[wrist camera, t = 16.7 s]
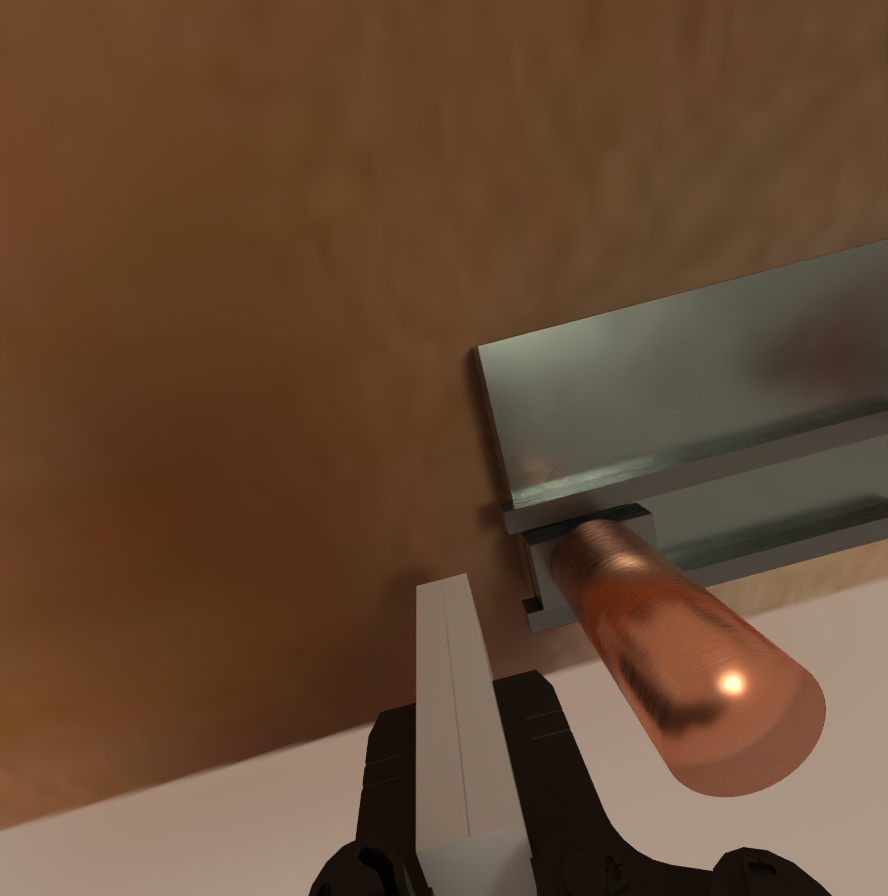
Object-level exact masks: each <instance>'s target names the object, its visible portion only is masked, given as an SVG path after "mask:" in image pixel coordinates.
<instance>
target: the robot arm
mask: <svg viewBox="0 0 888 896" xmlns="http://www.w3.org/2000/svg"><path fill="white" fill-rule="evenodd" d="M365 762H366V767H365V769H364V776H363V790H362V792H361V800H360V808H359V816H358V824H357V832H356V839H355V841H353V842H351V843H349V844H347V845H344V846H343V847H342V848H341V849H340V850H339V851H338V852H337V853H336V854H335V855H334V856H332V857H331V858H330V859H329V860H328V861H327V862H326V864H325V866H324V867H323V869H322V870H321V872H320V873H319V875H318V877H317V879H316V880H315V881H314V883H313V885H312V887H311V890H310V893H309V896H832V895H831V894H830V893H829V892H827V890H826V889H825V888H824V887H823V886H822V885H821V884H819V883H818V882H817V881H816V880H814V879H813V878H812V877H811V876H809V875H808V874H807V873H806V872H804V871H803V870H802V869H800V868H799V867H798V866H797V865H796V864H794V863H793V862H791V861H789V860H786V859H784V858H782V857H780V856H778V855H776V854H774V853H772V852H770V851H768V850H760V849H753V848H746V847H742V848H740V849H737V850H733V851H730V852H727V853H725V854H724V855H723V856H722V858H721V859H720V860H719V862H718V863H717V864H716V865H715V867H714V868H713V871H709V870H702V869H696V868H689V867H682V866H675V865H670V864H666V863H662V862H659V861H656V860H653V859H651V858H649V857H647V856H646V855H644V854H642V853H640V852H638V851H637V850H636V849H634V848H633V847H632V846H631V845H630V844H628V843H627V842H626V841H625V840H624V839H623V838H622V837H621V836H620V835H619V833H618V832H617V831H616V830H615V829H614V827H613V826H612V824H611V822H610V821H609V819H608V817H607V815H606V813H605V811H604V809H603V807H602V804H601V802H600V799H599V797H598V794H597V792H596V790H595V787H594V785H593V782H592V780H591V777H590V775H589V773H588V770H587V768H586V766H585V763H584V761H583V758H582V756H581V753H580V751H579V748H578V746H577V744H576V741H575V739H574V736H573V734H572V732H571V730H570V727H569V725H568V722H567V719H566V717H565V715H564V712H563V711H562V707H561V705H560V702H559V700H558V698H557V695H556V693H555V690H554V688H553V686H552V685H551V684H550V683H549V682H548V681H547V680H546V679H545V678H544V677H543V676H542V675H541V674H540V673H539V672H538V671H537V670H536V669H535V670H532V671H528V672H524V673H520V674H517V675H513V676H509V677H505V678H502V679H498V680H494V679H493V674H492V670H491V666H490V662H489V658H488V653H487V649H486V646H485V642H484V638H483V634H482V631H481V627H480V623H479V619H478V615H477V612H476V608H475V604H474V600H473V597H472V593H471V589H470V585H469V581H468V578H467V574H466V573H464V574H460V575H457V576H453V577H449V578H445V579H441V580H438V581H434V582H430V583H426V584H422V585H419V586H416V703H414V704H410V705H406V706H402V707H399V708H395V709H391V710H387V711H384V712H380V714H379V716H378V718H377V720H376V722H375V724H374V726H373V728H372V730H371V732H370V735H369V737H368V745H367V753H366V761H365Z"/></svg>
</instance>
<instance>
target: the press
mask: <svg viewBox="0 0 888 896" xmlns="http://www.w3.org/2000/svg"><path fill="white" fill-rule="evenodd" d="M472 352H473V356H474V361H475V365H476V369H477V374H478V378H479V382H480V387H481V391H482V395H483V399H484V404H485V408H486V412H487V417H488V421H489V425H490V430H491V434H492V438H493V442H494V447H495V451H496V455H497V460H498V464H499V468H500V473H501V477H502V481H503V485H504V490H505V494H506V498H507V502H504V503H500V504H499V507H500V511H501V516H502V520H503V524H504V527H505V528H506V530H507V532H508V534H509V535H511V534H515V537H516V541H517V546H518V550H519V554H520V559H521V563H522V567H523V571H524V576H525V580H526V584H527V587H528V589H529V592H530V594H531V596H532V598H529V599H526V600H522V604H523V608H524V612H525V616H526V620H527V623H528V625H529V627H530V630H531V632H532V634H534V633H538V632H542V631H545V630H549V629H553V628H556V627H560V626H564V625H568V624H571V623H575V622H578V620H577V619H576V617H575V615H574V614H573V612H572V610H571V609H570V607H569V606H564V607H560V608H557V609H553V610H549V611H544V609H543V607H542V606H541V604H540V602H539V600H538V598H537V596H536V593H535V588H534V584H533V580H532V575H531V571H530V566H529V562H528V558H527V553H526V549H525V544H524V540H523V536H522V533H524V532H527V531H531V530H535V529H539V528H542V527H546V526H550V525H554V524H557V523H561V522H565V521H569V520H572V519H576V518H580V517H584V516H587V515H591V514H595V513H599V512H602V511H606V510H610V509H614V508H617V507H621V506H625V505H629V504H632V503H638V504H639V505H641V506H642V507H644V508H645V509H647V510H648V511H650V512H651V513H653V518H654V524H655V531H656V538H657V545H658V552H660V553H661V554H662V555H663V556H665V557H666V558H667V559H668V560H670V561H671V562H672V563H673V564H675V565H676V566H677V567H678V568H680V569H681V570H682V571H683V572H685V573H686V574H687V575H688V576H690V577H691V578H692V579H693V580H695V581H696V582H697V583H698V584H700V585H701V586H702V587H703V588H705V587H709V586H712V585H716V584H720V583H724V582H727V581H731V580H735V579H739V578H742V577H746V576H750V575H753V574H757V573H761V572H765V571H768V570H772V569H776V568H779V567H783V566H787V565H791V564H794V563H798V562H802V561H805V560H809V559H813V558H817V557H820V556H824V555H828V554H831V553H835V552H839V551H843V550H846V549H850V548H854V547H857V546H861V545H865V544H869V543H872V542H876V541H880V540H883V539H887V538H888V239H884V240H880V241H877V242H873V243H869V244H865V245H861V246H858V247H854V248H850V249H846V250H842V251H839V252H835V253H831V254H827V255H823V256H819V257H816V258H812V259H808V260H804V261H800V262H797V263H793V264H789V265H785V266H781V267H777V268H774V269H770V270H766V271H762V272H758V273H755V274H751V275H747V276H743V277H739V278H736V279H732V280H728V281H724V282H720V283H716V284H713V285H709V286H705V287H701V288H697V289H694V290H690V291H686V292H682V293H678V294H674V295H671V296H667V297H663V298H659V299H655V300H652V301H648V302H644V303H640V304H636V305H632V306H629V307H625V308H621V309H617V310H613V311H610V312H606V313H602V314H598V315H594V316H591V317H587V318H583V319H579V320H575V321H571V322H568V323H564V324H560V325H556V326H552V327H549V328H545V329H541V330H537V331H533V332H529V333H526V334H522V335H518V336H514V337H510V338H507V339H503V340H499V341H495V342H491V343H487V344H484V345H480V346H476V347H472Z"/></svg>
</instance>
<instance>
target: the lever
mask: <svg viewBox="0 0 888 896" xmlns="http://www.w3.org/2000/svg"><path fill="white" fill-rule="evenodd" d="M522 536H523V540H524V544H525V549H526V553H527V558H528V562H529V566H530V571H531V575H532V580H533V584H534V588H535V593H536V596H537V598H538V600H539V602H540V604H541V606H542V607H543V609H544V611H549V610H553V609H557V608H560V607H564V606H569V607H570V609H571V610H572V612H573V614H574V615H575V617H576V619H577V620H578V622H579V623H580V625H581V627H582V628H583V630H584V632H585V633H586V635H587V636H588V638H589V640H590V641H591V643H592V645H593V646H594V648H595V649H596V651H597V653H598V654H599V656H600V658H601V659H602V661H603V663H604V664H605V666H606V667H607V668H608V670H609V672H610V674H611V675H612V677H613V679H614V680H615V682H616V683H617V685H618V687H619V689H620V690H621V692H622V693H623V695H624V697H625V698H626V700H627V701H628V703H629V705H630V706H631V708H632V710H633V711H634V713H635V715H636V716H637V718H638V719H639V721H640V723H641V724H642V726H643V727H644V729H645V731H646V732H647V734H648V736H649V737H650V739H651V741H652V742H653V744H654V745H655V747H656V749H657V750H658V752H659V753H660V755H661V757H662V758H663V760H664V762H665V763H666V765H667V766H668V768H669V770H670V771H671V773H672V774H673V775H674V777H675V778H676V779H677V780H678V781H679V782H681V783H682V784H683V785H684V786H686V787H688V788H690V789H691V790H693V791H696V792H698V793H701V794H704V795H709V796H715V797H735V796H742V795H746V794H751V793H754V792H757V791H760V790H763V789H765V788H767V787H770V786H772V785H774V784H775V783H777V782H779V781H781V780H782V779H784V778H785V777H787V776H788V775H789V774H791V773H792V772H793V771H794V770H795V769H797V768H798V767H799V766H800V764H802V763H803V761H805V759H806V758H807V757H808V756H809V754H810V753H811V752H812V750H813V749H814V747H815V745H816V744H817V742H818V739H819V738H820V735H821V733H822V730H823V726H824V722H825V715H826V706H825V698H824V695H823V692H822V689H821V687H820V686H819V683H818V682H817V681H816V679H815V678H814V677H813V675H812V674H810V673H809V672H808V671H807V670H806V669H805V668H804V667H802V666H801V665H800V664H799V663H797V662H796V661H795V660H793V659H792V658H791V657H790V656H789V655H787V654H786V653H785V652H784V651H782V650H781V649H780V648H779V647H777V646H776V645H775V644H774V643H772V642H771V641H770V640H769V639H767V638H766V637H764V635H762V634H761V633H760V632H759V631H757V630H756V629H755V628H754V627H752V626H751V625H750V624H749V623H747V622H746V621H745V620H744V619H742V618H741V617H740V616H739V615H737V614H736V613H735V612H734V611H732V610H731V609H730V608H729V607H727V606H726V605H725V604H724V603H722V602H721V601H720V600H719V599H717V598H716V597H715V596H714V595H712V594H711V593H710V592H709V591H707V590H706V589H705V588H703V587H702V586H701V585H700V584H698V583H697V582H696V581H695V580H693V579H692V578H691V577H690V576H688V575H687V574H686V573H685V572H683V571H682V570H681V569H680V568H678V567H677V566H676V565H675V564H673V563H672V562H671V561H670V560H668V559H667V558H666V557H665V556H663V555H662V554H661V553H660V552H658V545H657V538H656V531H655V524H654V518H653V513H651V512H650V511H648V510H647V509H645V508H644V507H642V506H641V505H639V504H638V503H632V504H629V505H625V506H621V507H617V508H614V509H610V510H606V511H602V512H599V513H595V514H591V515H587V516H584V517H580V518H576V519H572V520H569V521H565V522H561V523H557V524H554V525H550V526H546V527H542V528H539V529H535V530H531V531H527V532H524V533H522Z"/></svg>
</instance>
